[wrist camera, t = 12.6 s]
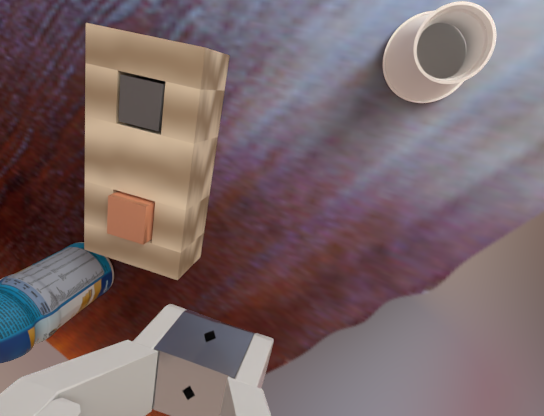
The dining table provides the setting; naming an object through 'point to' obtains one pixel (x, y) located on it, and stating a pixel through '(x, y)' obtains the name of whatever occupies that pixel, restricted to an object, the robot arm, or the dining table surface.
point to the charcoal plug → (141, 101)
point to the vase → (438, 51)
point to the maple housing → (151, 145)
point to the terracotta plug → (130, 217)
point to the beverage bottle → (49, 296)
